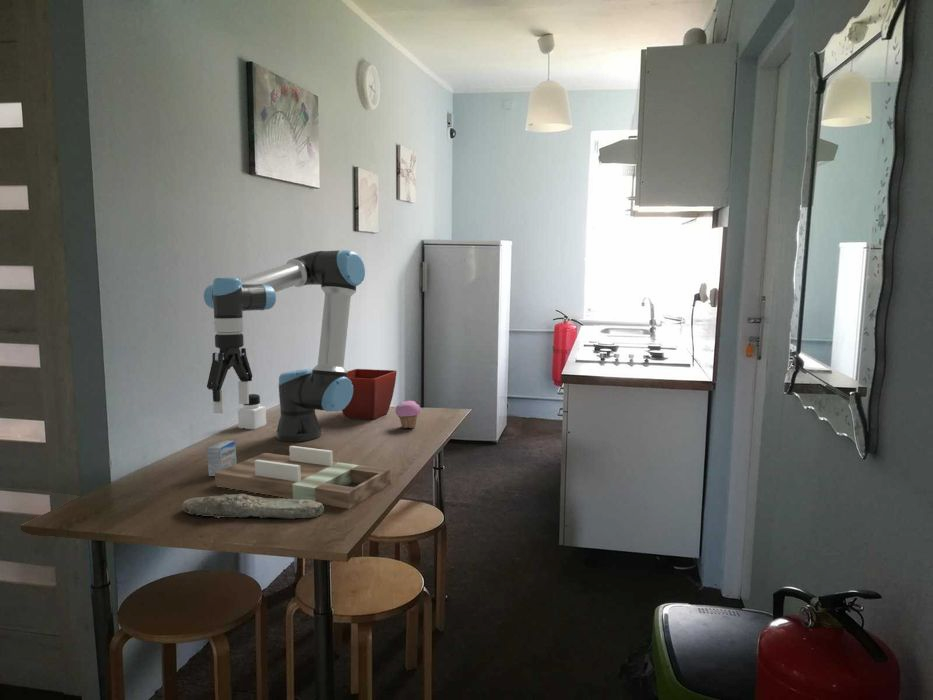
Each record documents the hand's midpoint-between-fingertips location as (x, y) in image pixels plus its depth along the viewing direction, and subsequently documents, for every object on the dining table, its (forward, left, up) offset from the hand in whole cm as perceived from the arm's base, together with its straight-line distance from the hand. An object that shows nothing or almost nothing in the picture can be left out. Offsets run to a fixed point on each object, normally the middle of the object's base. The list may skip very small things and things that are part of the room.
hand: (231, 408), depth 187 cm
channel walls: (0, +21, -15) cm, 26 cm away
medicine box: (0, -5, -20) cm, 20 cm away
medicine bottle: (-46, -35, -20) cm, 61 cm away
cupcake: (-65, +20, -20) cm, 71 cm away
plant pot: (-76, -5, -20) cm, 79 cm away
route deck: (0, +24, -20) cm, 31 cm away
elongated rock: (+21, +25, -20) cm, 38 cm away
